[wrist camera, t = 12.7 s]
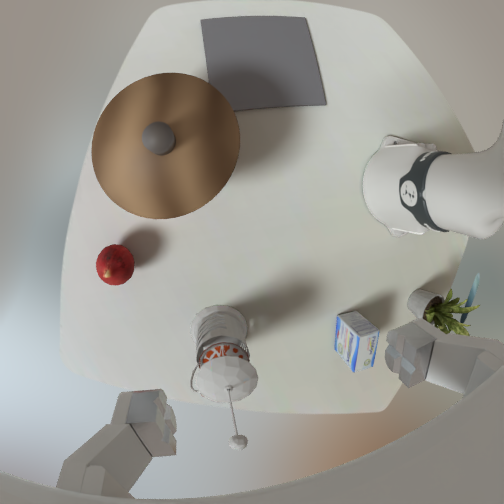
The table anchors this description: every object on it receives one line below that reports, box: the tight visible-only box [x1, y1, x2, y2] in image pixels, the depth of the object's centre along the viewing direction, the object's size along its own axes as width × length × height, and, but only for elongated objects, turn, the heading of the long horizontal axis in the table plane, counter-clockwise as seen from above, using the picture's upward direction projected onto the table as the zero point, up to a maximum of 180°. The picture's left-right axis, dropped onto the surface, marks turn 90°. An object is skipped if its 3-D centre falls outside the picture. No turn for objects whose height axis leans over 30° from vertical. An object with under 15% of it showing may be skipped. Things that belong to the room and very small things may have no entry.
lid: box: [92, 73, 240, 219], centre depth 26 cm, size 17×17×5 cm
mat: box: [201, 16, 326, 111], centre depth 37 cm, size 18×18×1 cm
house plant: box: [408, 289, 480, 336], centre depth 45 cm, size 14×14×16 cm
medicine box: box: [335, 311, 380, 372], centre depth 47 cm, size 8×4×9 cm, turn 3°
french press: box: [190, 305, 258, 450], centre depth 35 cm, size 10×12×25 cm
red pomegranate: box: [96, 244, 135, 285], centre depth 37 cm, size 6×6×8 cm
